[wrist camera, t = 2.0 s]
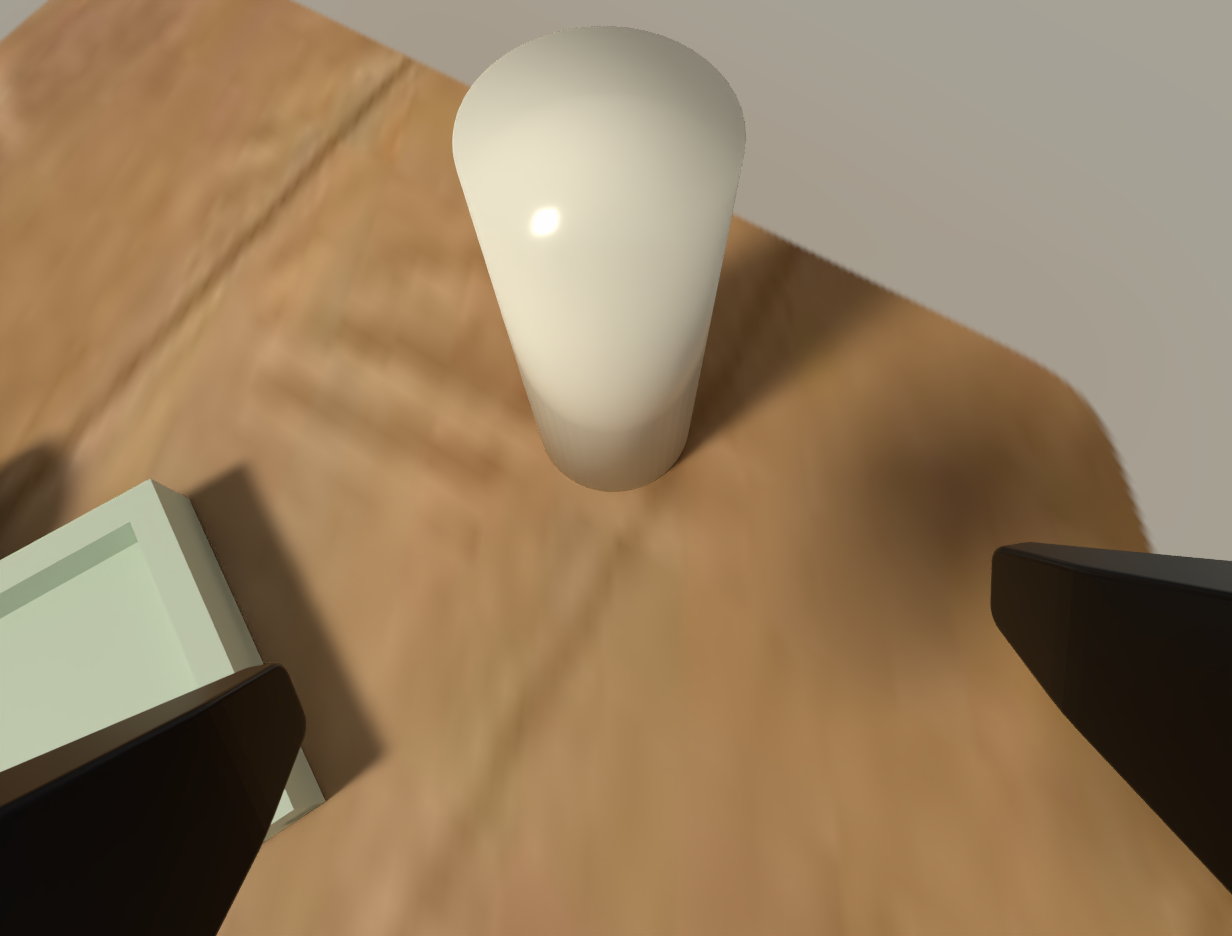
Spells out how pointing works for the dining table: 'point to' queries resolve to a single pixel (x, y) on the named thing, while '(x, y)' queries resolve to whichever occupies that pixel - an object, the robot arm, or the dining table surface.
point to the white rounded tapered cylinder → (604, 235)
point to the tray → (120, 629)
